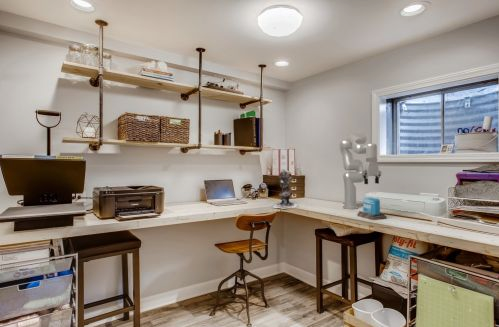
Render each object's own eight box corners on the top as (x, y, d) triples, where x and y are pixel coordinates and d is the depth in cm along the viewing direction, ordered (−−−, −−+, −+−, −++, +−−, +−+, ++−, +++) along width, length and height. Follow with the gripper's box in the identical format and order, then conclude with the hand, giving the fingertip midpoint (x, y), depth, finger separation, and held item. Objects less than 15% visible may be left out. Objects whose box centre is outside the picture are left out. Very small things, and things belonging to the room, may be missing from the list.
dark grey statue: (267, 207, 259) (268, 168, 262) (277, 206, 282) (279, 170, 284) (290, 209, 249) (291, 169, 251) (299, 208, 271) (300, 170, 274)
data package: (363, 213, 217) (362, 197, 217) (367, 212, 219) (367, 197, 219) (375, 216, 206) (375, 199, 206) (380, 215, 208) (380, 199, 208)
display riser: (357, 216, 218) (357, 211, 218) (370, 214, 222) (370, 210, 222) (372, 220, 203) (372, 215, 203) (386, 218, 207) (386, 213, 207)
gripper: (377, 160, 219) (377, 182, 219) (358, 160, 214) (358, 183, 214) (384, 160, 212) (384, 183, 212) (365, 160, 207) (365, 184, 207)
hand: (371, 183), depth 213 cm, fingers open, 9 cm apart
